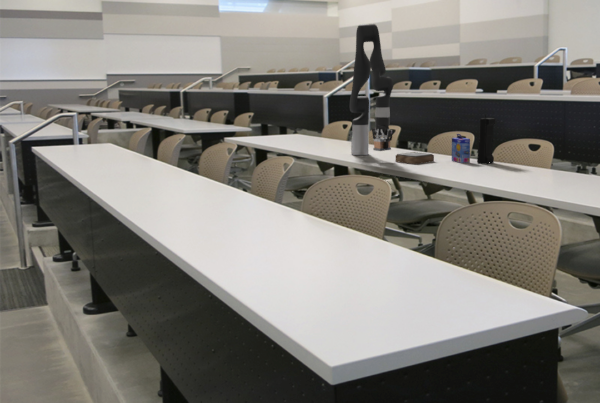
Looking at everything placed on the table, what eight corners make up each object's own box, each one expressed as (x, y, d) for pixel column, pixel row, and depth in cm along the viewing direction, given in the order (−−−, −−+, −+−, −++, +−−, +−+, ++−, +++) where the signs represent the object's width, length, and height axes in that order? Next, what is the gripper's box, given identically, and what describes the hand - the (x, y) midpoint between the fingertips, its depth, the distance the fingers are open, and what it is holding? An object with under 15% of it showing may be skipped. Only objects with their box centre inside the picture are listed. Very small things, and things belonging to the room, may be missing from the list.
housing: (373, 150, 338) (373, 138, 336) (384, 148, 342) (384, 137, 341) (380, 151, 334) (380, 139, 332) (390, 149, 338) (391, 138, 337)
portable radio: (484, 161, 331) (485, 112, 326) (494, 162, 327) (496, 113, 322) (476, 163, 325) (477, 113, 321) (487, 164, 321) (488, 114, 316)
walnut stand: (395, 161, 338) (395, 154, 337) (413, 159, 346) (414, 151, 345) (415, 164, 327) (415, 156, 326) (433, 161, 335) (434, 153, 334)
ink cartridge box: (450, 160, 336) (451, 133, 334) (459, 160, 338) (460, 132, 335) (460, 163, 327) (461, 134, 324) (470, 162, 329) (471, 134, 326)
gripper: (367, 115, 338) (367, 147, 341) (387, 117, 326) (386, 150, 330) (378, 114, 342) (377, 146, 346) (397, 116, 331) (397, 149, 334)
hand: (382, 148), depth 338 cm, fingers closed on housing, 5 cm apart
